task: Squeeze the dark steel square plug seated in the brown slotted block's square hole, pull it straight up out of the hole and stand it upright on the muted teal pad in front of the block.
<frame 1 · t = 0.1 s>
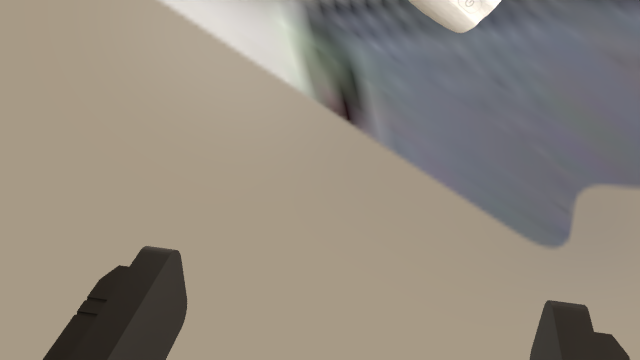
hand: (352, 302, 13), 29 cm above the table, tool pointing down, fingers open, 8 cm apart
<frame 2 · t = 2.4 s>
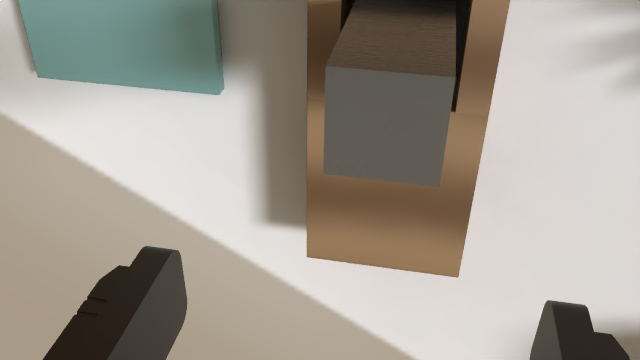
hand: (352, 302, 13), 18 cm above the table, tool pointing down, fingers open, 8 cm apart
brown slotted block: (406, 26, 28), on the table
steel plug: (397, 68, 24), in the brown slotted block
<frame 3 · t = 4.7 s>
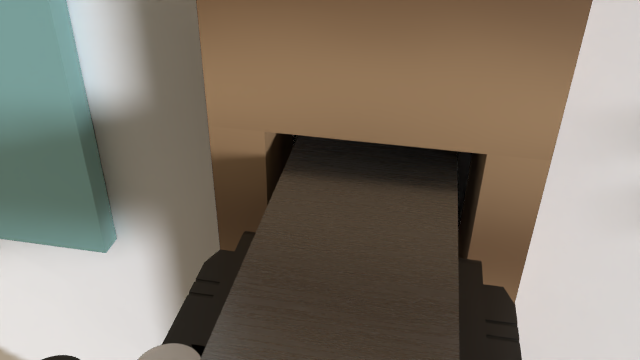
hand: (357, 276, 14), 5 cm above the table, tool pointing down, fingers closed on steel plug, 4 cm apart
brown slotted block: (378, 170, 18), on the table
steel plug: (357, 282, 14), in the brown slotted block, touching gripper
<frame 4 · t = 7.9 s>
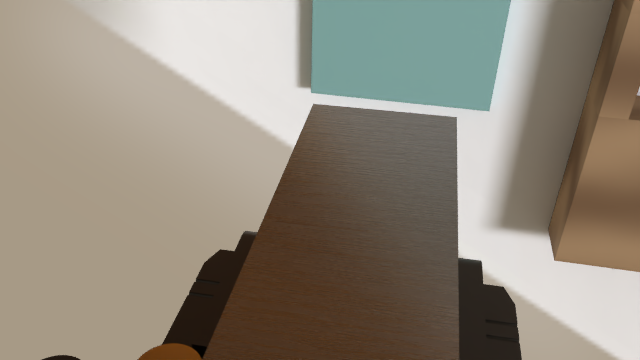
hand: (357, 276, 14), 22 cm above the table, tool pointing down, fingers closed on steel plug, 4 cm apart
steel plug: (357, 285, 14), point 22 cm above the table, touching gripper
when the fingers open (7 cm above the table, at t = 11.4 s): steel plug drops 2 cm, resting on teal pad.
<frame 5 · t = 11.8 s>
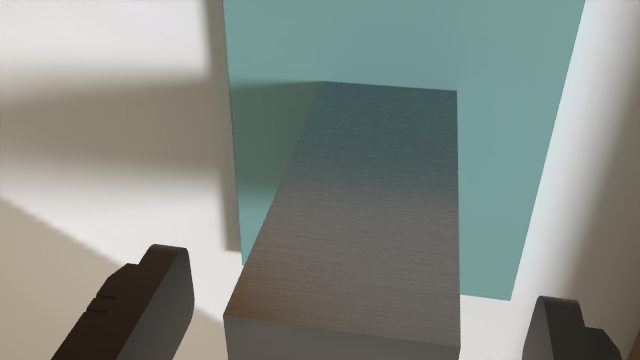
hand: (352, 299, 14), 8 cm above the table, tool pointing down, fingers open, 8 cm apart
steel plug: (367, 240, 15), on the teal pad, point 6 cm above the table
teal pad: (385, 130, 20), on the table
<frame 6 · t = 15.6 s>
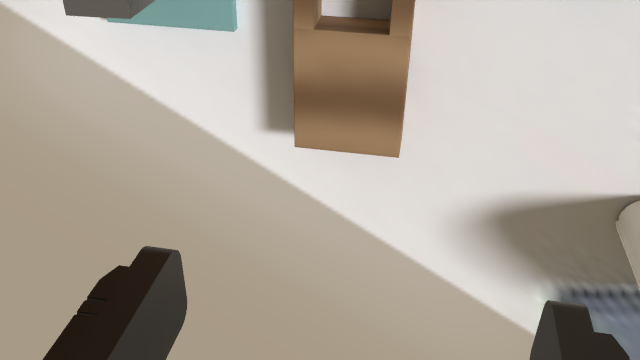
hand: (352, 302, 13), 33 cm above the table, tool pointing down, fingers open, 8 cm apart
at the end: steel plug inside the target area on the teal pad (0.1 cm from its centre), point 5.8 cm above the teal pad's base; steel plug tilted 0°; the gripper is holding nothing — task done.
